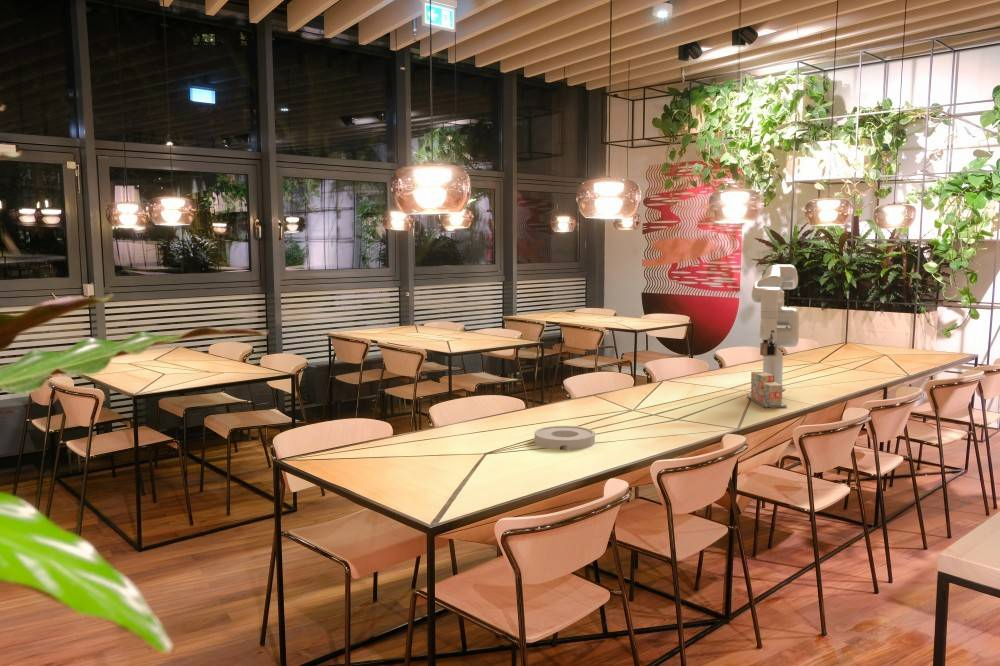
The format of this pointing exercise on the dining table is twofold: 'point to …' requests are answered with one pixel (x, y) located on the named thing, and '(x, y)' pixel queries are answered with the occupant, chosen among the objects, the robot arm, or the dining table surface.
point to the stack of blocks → (766, 388)
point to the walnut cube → (764, 349)
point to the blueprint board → (765, 404)
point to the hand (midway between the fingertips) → (768, 353)
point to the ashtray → (564, 437)
